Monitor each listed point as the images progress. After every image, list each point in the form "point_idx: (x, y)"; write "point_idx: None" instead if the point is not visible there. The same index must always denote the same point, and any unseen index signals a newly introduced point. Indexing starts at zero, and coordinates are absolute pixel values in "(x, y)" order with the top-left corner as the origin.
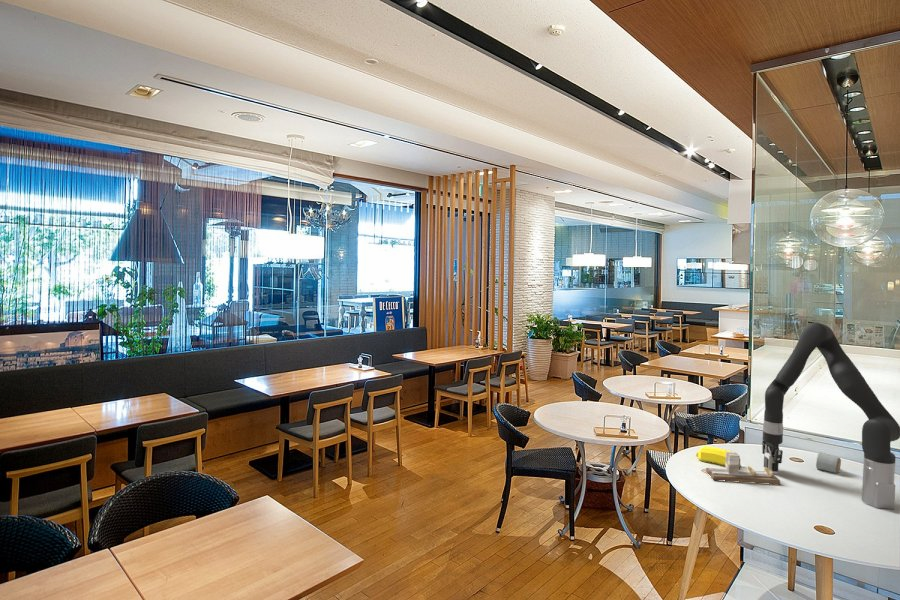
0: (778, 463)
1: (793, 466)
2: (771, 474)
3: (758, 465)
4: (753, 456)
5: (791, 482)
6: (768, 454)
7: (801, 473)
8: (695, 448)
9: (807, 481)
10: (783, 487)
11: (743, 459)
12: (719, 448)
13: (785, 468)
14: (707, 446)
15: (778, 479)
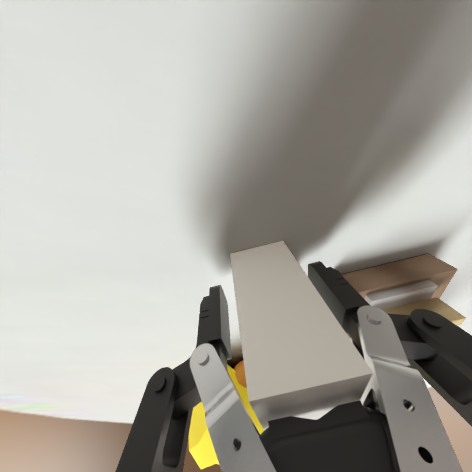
0: (317, 291)
1: (4, 73)
2: (448, 313)
3: (183, 305)
4: (25, 319)
5: (410, 194)
6: (321, 416)
7: (210, 42)
8: (116, 421)
9: (411, 54)
10: (458, 243)
11: (130, 345)
12: (217, 461)
13: (142, 176)
14: (203, 467)
15: (448, 273)
